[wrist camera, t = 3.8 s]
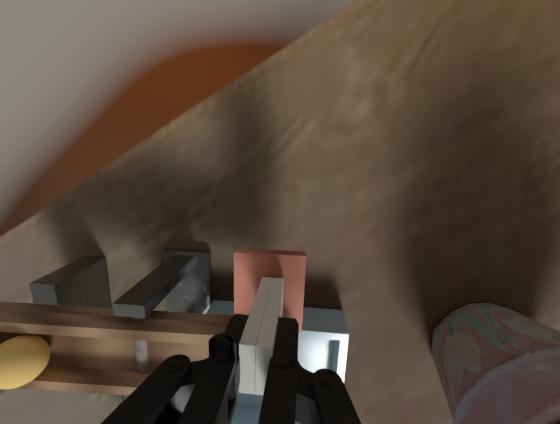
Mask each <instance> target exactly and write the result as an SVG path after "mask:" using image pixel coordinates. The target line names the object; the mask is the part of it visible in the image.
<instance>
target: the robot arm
mask: <svg viewBox="0 0 560 424" xmlns="http://www.w3.org/2000/svg"><path fill="white" fill-rule="evenodd" d="M283 289H284V279H283V278H270V277H262V279H261V282H260V285H259V287H258V290H257V293H256V296H255V299H254V302H253V305H252V308H251V311H250V314H249V315H245V314H235V315H234V316H233V317H232V318H231V319H230V321H229V323H228V325H227V327H226V329H225V332H224V333H219V334H216V335H214V336H213V337H211V338H210V340H209V341H208V345H209V357H208V358H206V359H204V360H200V361H194V362H190V359H189V357H188V356H186V355H182V354H178V355H173V356H171V357H168V358H167V359H166V360H164V361H163V362H162V363H161V364H160V365H159V366H158V367H157V368H156V369H155V370H154V371H153V372H152V373H151V374H150V375H149V376H148V377H147V378H146V379H145V380H144V381H143V382H142V383H141V384H140V385H139V386H138V387H137V388H136V389H135V390H134V391H133V392H132V393H131V394H130V395H129V396H128V397H127V398H126V399H125V400H124V401H123V402H122V403H121V404H120V405H119V406H118V407H117V408H116V409H115V410H114V411H113V412H112V413H111V414H110V415H109V416H108V417H107V418H106V419H105V420H104V421H103V422H102V423H101V424H231V422H232V418H233V414H234V411H235V407H236V402H237V391H238V387H239V393H246V394H255V395H263V400H262V405H261V411H260V417H259V422H258V424H295V421H296V422H299V423H301V424H361V422H360V420H359V418H358V415H357V413H356V411H355V408H354V406H353V404H352V401H351V399H350V397H349V394H348V392H347V390H346V388H345V385H344V383H343V381H342V379H341V377H340V376H339V374H337V373H336V372H335V371H333V370H330V369H319V370H317V371H316V372H315V373H312V372H310V371H308V370H306V369H304V368H303V367H302V366H301V365H300V363H299V361H298V335H299V324H298V322H297V320H296V318H286V317H282V313H283Z"/></svg>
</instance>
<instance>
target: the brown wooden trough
mask: <svg viewBox="0 0 560 424" xmlns="http://www.w3.org/2000/svg"><path fill="white" fill-rule="evenodd" d="M305 271H306V252H302V251H282V250H262V249H241V248H236V249H235V251H234V315H235V314H245V315H249V314H250V311H251V308H252V305H253V302H254V299H255V296H256V293H257V290H258V287H259V285H260V282H261V279H262V277H270V278H283V279H284V289H283V313H282V317H286V318H296V320H297V322H298V324H299V332H302V320H303V303H304V287H305ZM234 315H220V314H203V313H186V312H168V311H152V312H151V313H150V314H149V315H148V316H147V317H146V318H135V317H123V316H114V313H113V308H100V307H82V306H65V305H48V304H31V303H14V302H0V344H1V343H3V342H5V341H6V340H8V339H11V338H13V337H16V336H20V335H36V336H39V337H41V338H43V339H44V340H46V341H47V343H48V344H49V347H50V358H49V361H48V364H47V365H46V367H45V369H44V370H43V371H42V372H41V373H40V374H39V375H38V376H37V377H36V378H35V379H33V380H32V381H30V382H29V383H27V384H25V385H23V386H20V387H17V388H27V389H42V390H56V391H70V392H84V393H99V394H113V395H127V396H129V395H130V394H131V393H132V392H133V391H134V390H135V389H136V388H137V387H138V386H139V385H140V384H141V383H142V382H143V381H144V380H145V379H146V378H147V377H148V376H149V375H150V374H151V373H152V372H153V371H154V370H155V369H156V368H157V367H158V366H159V365H160V364H161V363H162V362H163V361H164V360H166V359H167V358H168V357H171V356H173V355H178V354H182V355H186V356H188V357H189V359H190V362H194V361H200V360H204V359H206V358H208V357H209V345H208V341H209V340H210V338H211V337H213V336H214V335H216V334H219V333H224V332H225V329H226V327H227V325H228V323H229V321H230V319H231V318H232V317H233V316H234ZM5 390H6V389H0V394H1V393H2V392H4V391H5Z"/></svg>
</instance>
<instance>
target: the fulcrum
mask: <svg viewBox="0 0 560 424" xmlns="http://www.w3.org/2000/svg"><path fill="white" fill-rule="evenodd" d="M163 259H164V262H163V263H162V264H161V265H159V266H158V267H157V268H156V269H154V270H153V271H152V272H151V273H149V274H148V275H147V276H146V277H144V278H143V279H142V280H141V281H140V282H138V283H137V284H136V285H135V286H133V287H132V288H131V289H130V290H128V291H127V292H126V293H125V294H123V295H122V296H121V297H120V298H119V299H117V300H116V301H115V302H114V303H112V305H113V313H114V316H123V317H135V318H146V317H147V316H148V315H149V314H150V313H151V312H152V311H153V310H154V309H155V308H156V306H157V305H158V304H159V303H160V302H161V301H162V300H163V299H164V298H165V297H166V301H167V311H168V312H186V313H203V314H206V312H207V311H208V309H209V307H210V306H211V304H212V278H211V251H207V250H191V249H175V248H166V249H164V250H163ZM127 397H128V396H127V395H124V400H125V399H126V398H127Z"/></svg>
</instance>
